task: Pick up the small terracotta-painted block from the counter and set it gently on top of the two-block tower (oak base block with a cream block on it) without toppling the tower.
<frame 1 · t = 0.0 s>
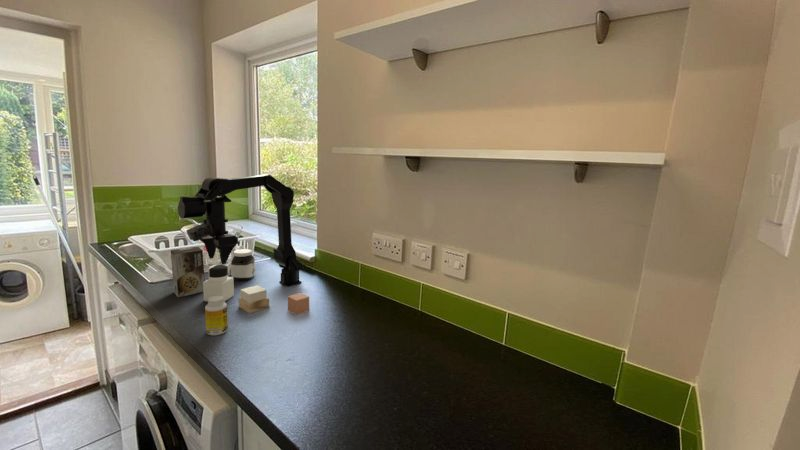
hand: (217, 261, 119), 15 cm above the worktop, fingers open, 9 cm apart
spread jar: (240, 277, 147), on the worktop
cream block: (253, 298, 118), point 3 cm above the worktop, touching oak base block
terracotta block: (298, 310, 118), on the worktop
oak base block: (254, 307, 119), on the worktop, touching cream block
supplement bottle: (217, 332, 101), on the worktop
medicine bottle: (219, 298, 124), on the worktop
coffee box: (189, 292, 128), on the worktop
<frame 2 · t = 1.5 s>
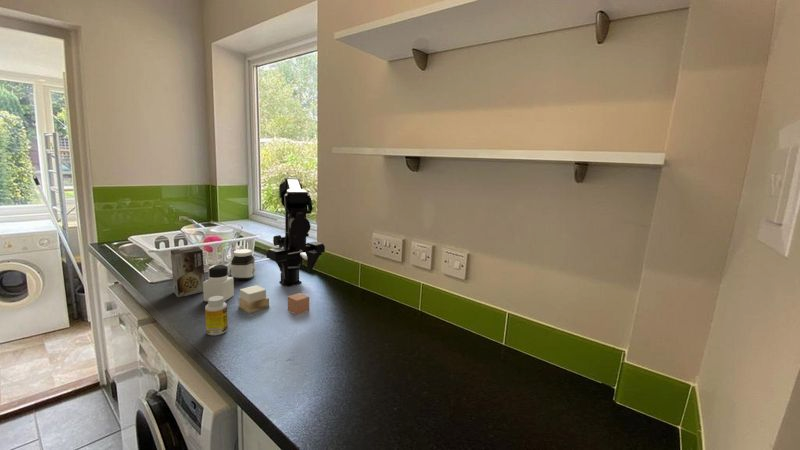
hand: (297, 275, 116), 12 cm above the worktop, fingers open, 9 cm apart
cream block: (253, 298, 118), point 3 cm above the worktop
oak base block: (254, 307, 119), on the worktop
everything else where it was.
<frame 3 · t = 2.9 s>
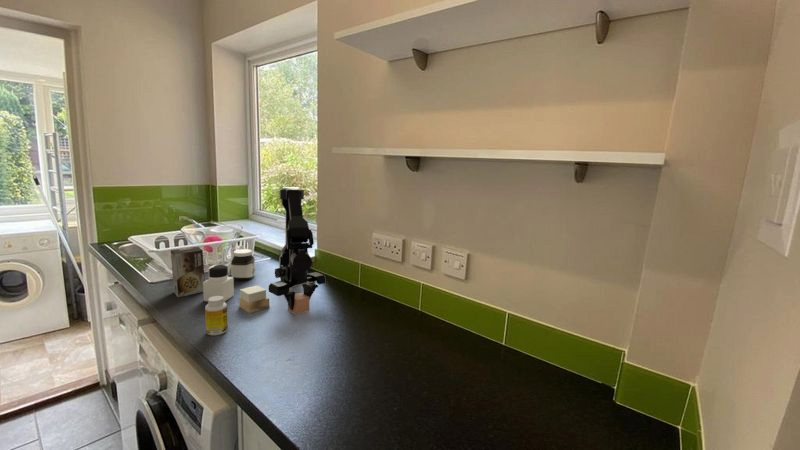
hand: (298, 307, 118), 1 cm above the worktop, fingers closed on terracotta block, 5 cm apart
cream block: (253, 298, 118), point 3 cm above the worktop, touching oak base block
terracotta block: (298, 310, 118), on the worktop, touching gripper
oak base block: (254, 307, 119), on the worktop, touching cream block
everything else where it was.
when the fingers open (8 cm above the worktop, at t = 6.3 s): terracotta block drops 1 cm, resting on cream block.
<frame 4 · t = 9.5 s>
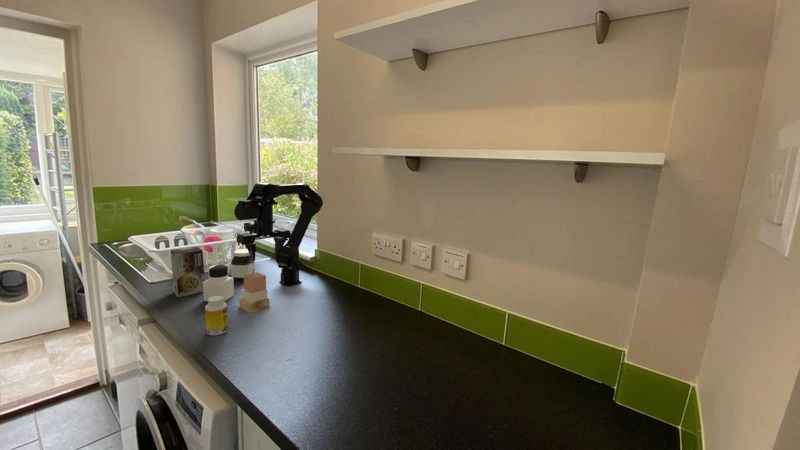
hand: (265, 258, 130), 13 cm above the worktop, fingers open, 9 cm apart
cream block: (254, 297, 118), point 3 cm above the worktop, touching oak base block, terracotta block
terracotta block: (255, 289, 118), point 6 cm above the worktop, touching cream block
everything else where it was.
at the end: terracotta block 0.2 cm off-centre on the oak base block, point 6.5 cm above the oak base block's base; terracotta block tilted 0°; cream block tilted 0° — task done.
